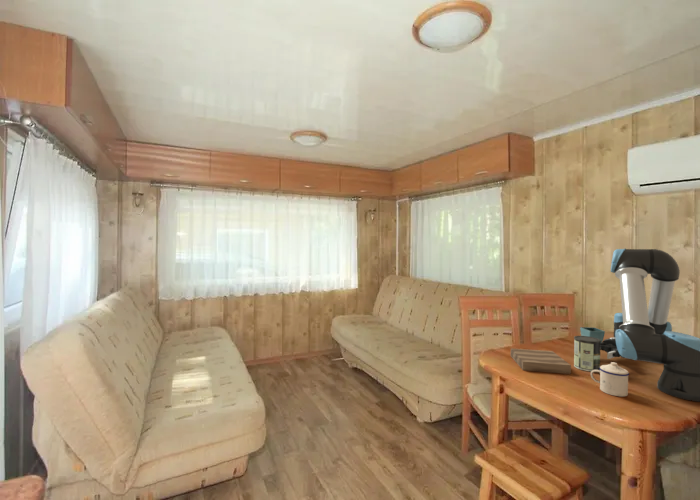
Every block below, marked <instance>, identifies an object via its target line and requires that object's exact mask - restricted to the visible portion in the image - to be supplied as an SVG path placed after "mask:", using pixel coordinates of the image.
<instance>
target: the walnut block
mask: <svg viewBox="0 0 700 500" xmlns="http://www.w3.org/2000/svg"><path fill="white" fill-rule="evenodd" d="M510 357H511V358H512V359H513V361H515V363H516V364H517V366H519V367H520V369H521V370H522V371H528V372H540V373H541V372H542V373H556V374H567V375H571V373H572V371H571V370H572V365H571V364H570V363H568V361H566V360H565V359H564V358H562V357H561V356H560V355H558V354H557V353H556V352H554V351H553V350H542V349H541V350H539V349H527V348H526V349H525V348H510Z"/></svg>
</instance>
